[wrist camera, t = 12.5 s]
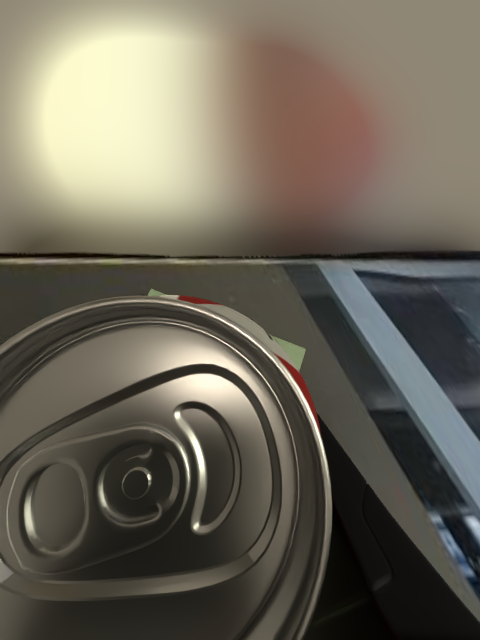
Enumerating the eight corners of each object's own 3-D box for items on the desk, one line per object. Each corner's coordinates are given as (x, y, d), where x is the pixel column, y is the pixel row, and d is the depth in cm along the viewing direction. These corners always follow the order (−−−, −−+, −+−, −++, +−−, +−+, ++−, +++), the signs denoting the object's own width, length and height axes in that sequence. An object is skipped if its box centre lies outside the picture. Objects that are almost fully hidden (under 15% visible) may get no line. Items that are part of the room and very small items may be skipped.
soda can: (268, 441, 14) (463, 737, 3) (157, 472, 14) (-252, 1084, 2) (243, 335, 16) (298, 226, 4) (140, 358, 15) (-155, 303, 3)
